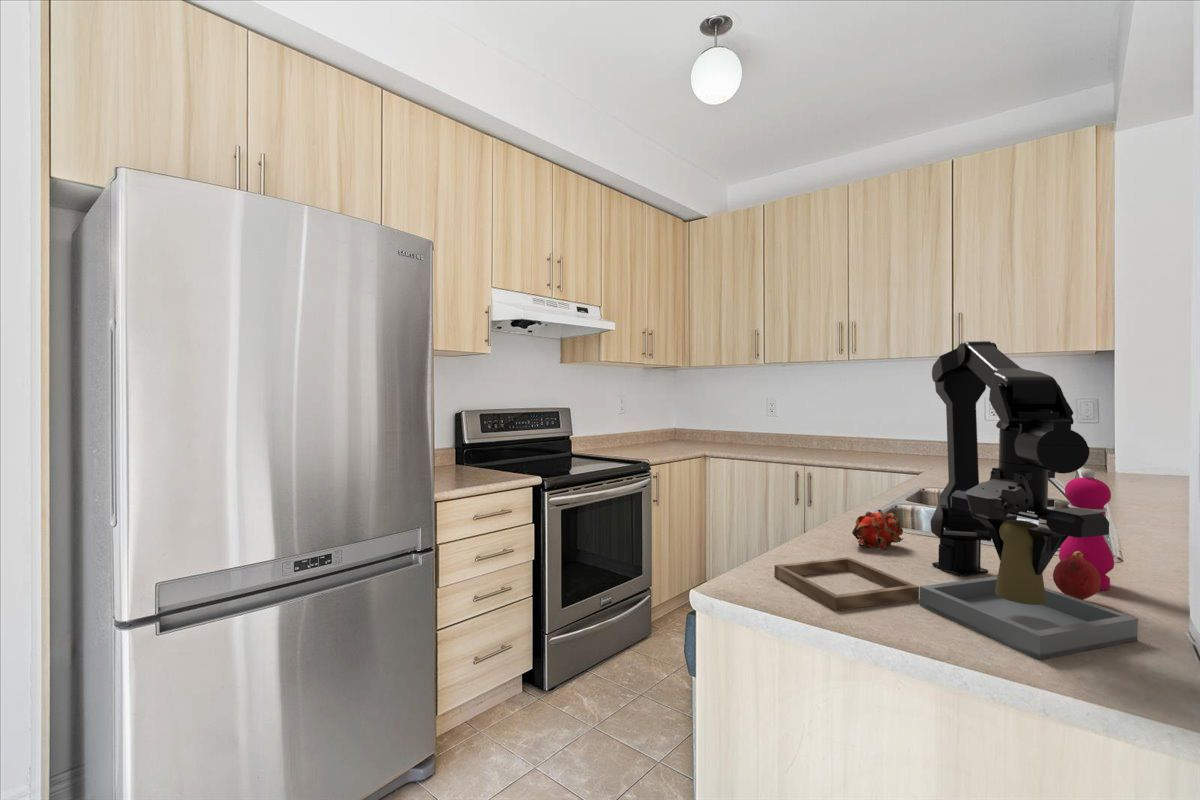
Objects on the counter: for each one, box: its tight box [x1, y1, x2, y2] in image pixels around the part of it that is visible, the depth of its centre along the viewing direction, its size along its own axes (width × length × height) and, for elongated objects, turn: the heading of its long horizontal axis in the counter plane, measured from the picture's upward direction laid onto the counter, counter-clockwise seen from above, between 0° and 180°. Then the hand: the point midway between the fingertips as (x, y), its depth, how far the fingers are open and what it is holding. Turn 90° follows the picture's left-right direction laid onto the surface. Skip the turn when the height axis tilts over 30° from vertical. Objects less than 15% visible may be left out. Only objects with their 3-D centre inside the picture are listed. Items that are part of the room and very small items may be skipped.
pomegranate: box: [1052, 551, 1101, 601], centre depth 88 cm, size 6×6×8 cm
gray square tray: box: [919, 575, 1139, 661], centre depth 81 cm, size 18×18×3 cm
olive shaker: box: [995, 519, 1046, 605], centre depth 81 cm, size 6×6×11 cm
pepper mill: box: [1058, 468, 1115, 591], centre depth 96 cm, size 7×7×20 cm
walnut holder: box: [774, 556, 920, 612], centre depth 95 cm, size 16×16×2 cm
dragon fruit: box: [851, 509, 904, 551], centre depth 118 cm, size 8×8×12 cm
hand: (1020, 569), depth 81 cm, fingers closed on olive shaker, 4 cm apart
